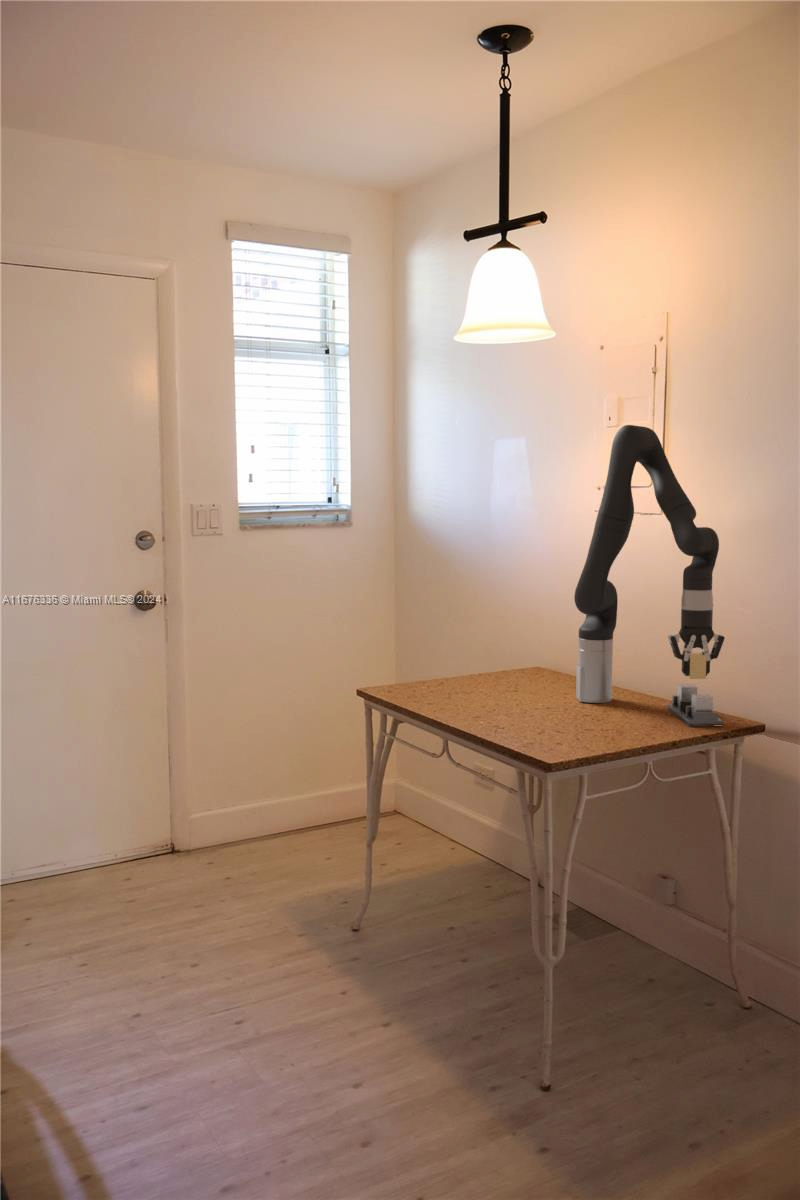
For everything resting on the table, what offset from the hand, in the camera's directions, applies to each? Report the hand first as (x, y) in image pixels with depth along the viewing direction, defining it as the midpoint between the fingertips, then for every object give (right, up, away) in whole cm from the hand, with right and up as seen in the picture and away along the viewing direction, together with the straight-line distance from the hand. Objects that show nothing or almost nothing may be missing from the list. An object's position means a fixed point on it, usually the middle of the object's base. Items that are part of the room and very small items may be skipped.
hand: (695, 675), depth 248 cm
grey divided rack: (0, -11, +1) cm, 11 cm away
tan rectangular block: (0, -1, 0) cm, 1 cm away
